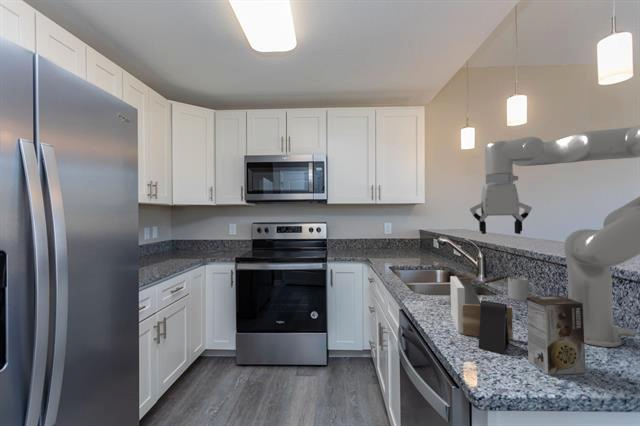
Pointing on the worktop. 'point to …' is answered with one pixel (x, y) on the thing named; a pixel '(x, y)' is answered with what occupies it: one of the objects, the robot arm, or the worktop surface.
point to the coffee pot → (469, 290)
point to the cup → (520, 288)
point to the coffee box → (556, 335)
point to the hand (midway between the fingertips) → (500, 233)
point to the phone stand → (493, 327)
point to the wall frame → (457, 302)
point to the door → (473, 319)
